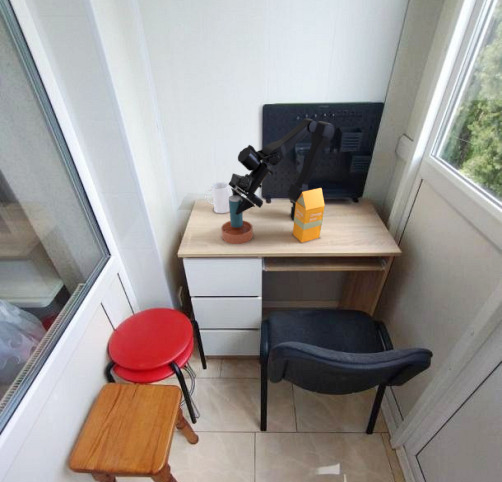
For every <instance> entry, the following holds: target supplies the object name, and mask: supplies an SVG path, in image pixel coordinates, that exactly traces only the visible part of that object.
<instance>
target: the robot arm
mask: <svg viewBox="0 0 502 482" xmlns="http://www.w3.org/2000/svg"><path fill="white" fill-rule="evenodd" d="M335 132H336V131H335V126H334V125H333V123H329V122H326V121H322V120H319V121H315V120H314V119H311V118H308V117H307V118H303V119H302V121H301V122H300V123H299V124H298V125H297V126H295V127H294V128H293V129H291V130H290V131H289V132H288V133H287V134H285V135H284V136H283V137H281V138H280V139H279V140H276V141H272V142H270V143H268V144H266V145H265V146H264V147H262V149H259V150H256V149H255V147H254V146H253V145H252V144H248V145H247V147H244V148H243V149H242V150H240V152H239V153H238V155H237V161H238V162H239V163H240V164H241V165H242V166H243V167H244V168H245V169H246V170H247V171H249V172H250V173H249V174H248V173H246V174H245V175H240V174H236V173H232V175H231V178H230V181H229V182H228V183H227V184H228V185H229V187H231V188H230V190H231V192H232V195H239V196H241V197H242V202H241V204H240V206H239V207H238V209H237V211H236V213H235V214H236V215H238V214H240V213H242V212H243V213H244V212H245V211H247V210H250V209H252V208H255V207H258V208H259V209H262V208H261V207H263V205H264V201H263V199H261V198H260V196H258V195H257V194H256V192H257V190H258V189H259V188H260V189H261V188H262V187H263V185H262V183H263V182H264V180H265V179H266V177H267V176H268V174H269V175H271V176H274V167H273V166H275V167H276V166H277V165H279V164H280V163H281V162H282V161H283V160H284V158H285V157H286V154H287V153H288V151H289V150H290V149H292V148H293V147H294V146H295V145H297V144H298V143H299V142H301V141H302V140H303V139H304V138H305V137H307V136H308V135H309V134H310V142H311V143H310V147H309V150H308V152H307V155H306V157H305V161H304V163H303V165H302V167H301V171H300V174H299V175H298V178H297V181H295V182H294V183H292V182H291V184H290V185H289V189H288V190H287V198H288V200H289V202H290V203H291V204H292V206H290V218H291V220H292V221H294V216H295V205H296V201H297V200H298V198H299V197H300V195H301V194H302V192H304V191H309V184H310V181H311V178H312V176H313V174H314V171H315V169H316V167H317V165H318V162H319V159H320V157H321V154H322V152H323V150H324V149H325V148H326V147H327V146H328V145H330V142H331V140H332V139H333V137H334V135H335ZM268 164H269V165H268Z"/></svg>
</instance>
